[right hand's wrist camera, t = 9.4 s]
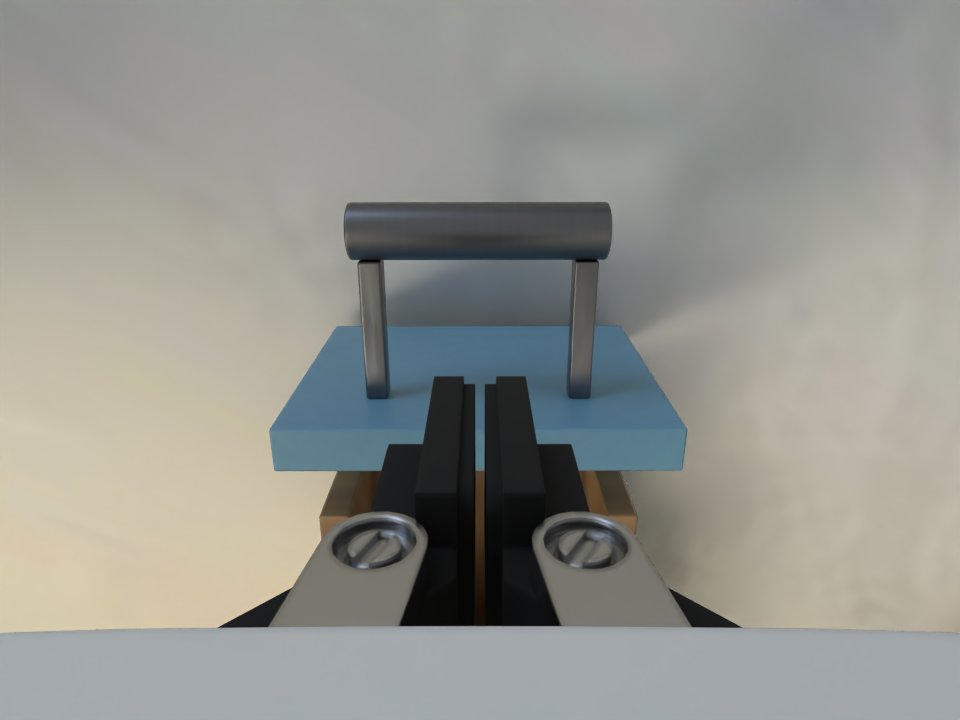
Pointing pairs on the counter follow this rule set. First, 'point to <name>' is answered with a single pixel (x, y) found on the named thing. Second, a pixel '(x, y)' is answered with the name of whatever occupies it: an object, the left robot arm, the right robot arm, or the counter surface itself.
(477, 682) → the right robot arm
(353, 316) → the counter surface
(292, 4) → the counter surface
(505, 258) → the drawer
